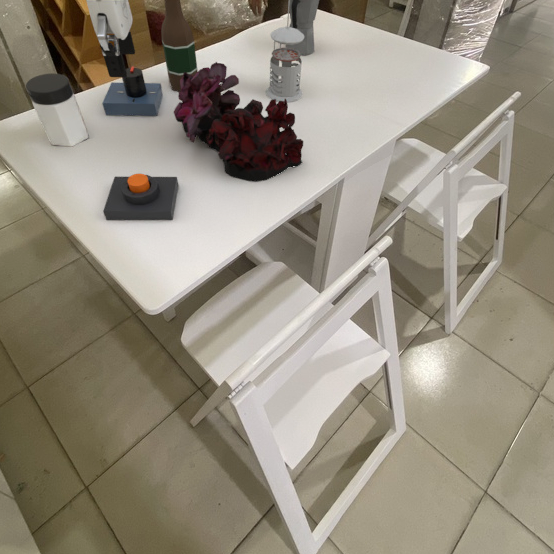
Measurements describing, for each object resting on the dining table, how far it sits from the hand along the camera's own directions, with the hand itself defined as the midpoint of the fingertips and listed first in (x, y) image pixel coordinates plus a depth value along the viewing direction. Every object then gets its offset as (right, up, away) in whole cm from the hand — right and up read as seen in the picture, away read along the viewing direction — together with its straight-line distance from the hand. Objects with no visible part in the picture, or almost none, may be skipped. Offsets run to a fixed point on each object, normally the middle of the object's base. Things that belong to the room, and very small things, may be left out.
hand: (123, 64), depth 78 cm
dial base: (-5, +1, +20) cm, 21 cm away
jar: (-16, -10, +11) cm, 22 cm away
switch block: (+5, -27, -1) cm, 28 cm away
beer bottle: (+6, +9, +27) cm, 29 cm away
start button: (+5, -25, -4) cm, 26 cm away
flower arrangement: (+20, -12, +11) cm, 26 cm away
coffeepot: (+37, +27, +43) cm, 63 cm away
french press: (+32, +8, +28) cm, 43 cm away
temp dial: (-4, +3, +18) cm, 19 cm away
